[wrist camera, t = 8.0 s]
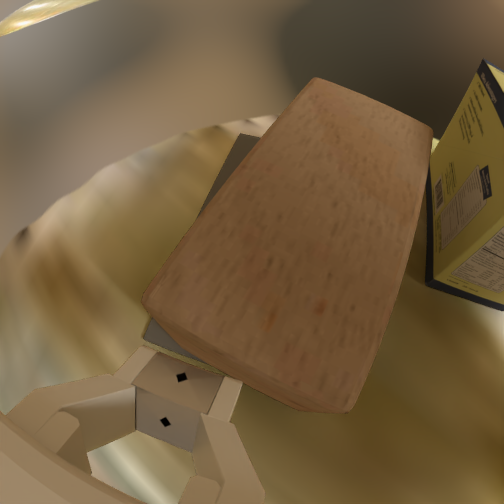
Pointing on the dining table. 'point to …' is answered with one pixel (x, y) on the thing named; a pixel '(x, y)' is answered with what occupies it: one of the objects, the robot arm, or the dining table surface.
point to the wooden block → (302, 251)
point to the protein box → (469, 196)
